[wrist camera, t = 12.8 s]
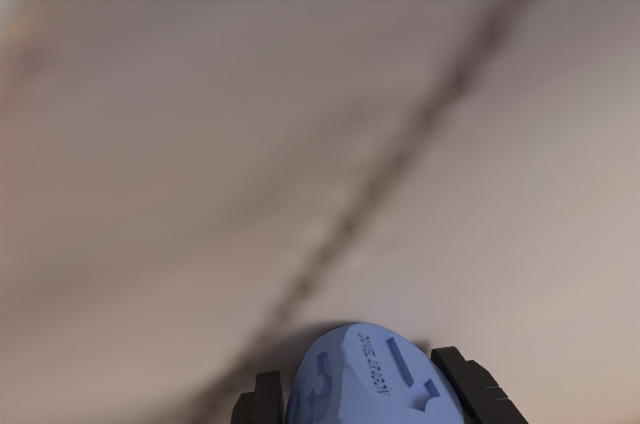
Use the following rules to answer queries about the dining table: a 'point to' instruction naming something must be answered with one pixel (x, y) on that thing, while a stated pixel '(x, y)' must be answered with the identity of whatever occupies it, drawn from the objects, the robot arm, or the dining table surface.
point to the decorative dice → (370, 382)
